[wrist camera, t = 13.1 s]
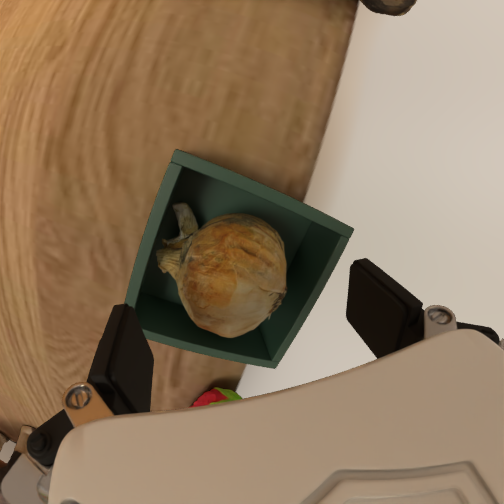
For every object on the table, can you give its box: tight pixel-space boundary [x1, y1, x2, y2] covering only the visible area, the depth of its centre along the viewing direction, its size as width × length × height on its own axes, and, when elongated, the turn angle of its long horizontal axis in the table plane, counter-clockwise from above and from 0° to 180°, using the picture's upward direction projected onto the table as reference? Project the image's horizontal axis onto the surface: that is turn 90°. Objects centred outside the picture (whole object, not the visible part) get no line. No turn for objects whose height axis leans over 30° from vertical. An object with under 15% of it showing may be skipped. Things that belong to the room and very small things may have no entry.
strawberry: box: [190, 387, 242, 408], centre depth 23 cm, size 6×7×10 cm
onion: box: [156, 202, 287, 338], centre depth 17 cm, size 8×8×8 cm
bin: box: [124, 149, 354, 369], centre depth 18 cm, size 11×11×5 cm
